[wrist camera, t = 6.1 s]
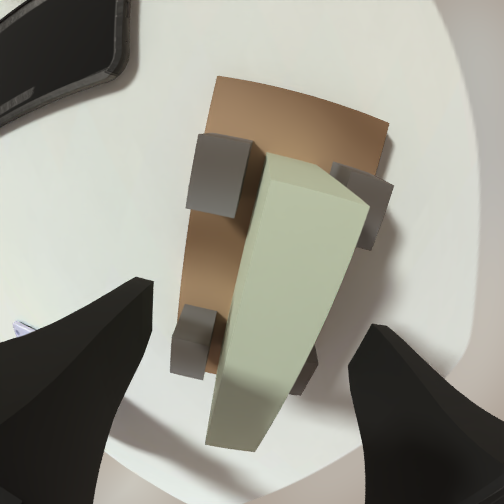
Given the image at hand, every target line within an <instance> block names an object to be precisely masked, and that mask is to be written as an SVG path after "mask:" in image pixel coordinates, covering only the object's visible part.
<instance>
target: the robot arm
mask: <svg viewBox="0 0 504 504" xmlns="http://www.w3.org/2000/svg"><path fill="white" fill-rule="evenodd" d="M153 285H154V281H151V280H147V279H143V278H139V277H135V278H133V279H131V280H129V281H127V282H126V283H124V284H122V285H121V286H119V287H117V288H116V289H114V290H112V291H111V292H109V293H107V294H106V295H104V296H102V297H101V298H99V299H97V300H95V301H94V302H92V303H90V304H89V305H87V306H85V307H83V308H81V309H79V310H77V311H75V312H74V313H72V314H70V315H68V316H66V317H64V318H62V319H60V320H58V321H56V322H54V323H52V324H50V325H48V326H45V327H43V328H40V329H38V330H34V329H32V328H30V327H28V326H26V325H24V324H22V323H20V322H18V321H15V322H14V323H13V328H14V331H15V334H16V336H17V337H16V338H13V339H10V340H7V341H4V342H1V343H0V504H93V499H94V494H95V488H96V483H97V478H98V473H99V468H100V464H101V460H102V456H103V453H104V449H105V445H106V442H107V438H108V435H109V432H110V429H111V425H112V422H113V419H114V417H115V414H116V412H117V409H118V407H119V405H120V403H121V401H122V399H123V397H124V395H125V392H126V390H127V388H128V386H129V384H130V382H131V380H132V378H133V376H134V374H135V372H136V370H137V368H138V366H139V364H140V362H141V360H142V358H143V355H144V353H145V350H146V347H147V344H148V341H149V338H150V335H151V333H152V312H153ZM348 372H349V383H350V391H351V396H352V400H353V404H354V409H355V413H356V417H357V421H358V426H359V430H360V435H361V439H362V444H363V450H364V460H365V476H366V477H365V482H366V484H365V487H366V489H365V490H366V491H365V494H366V495H365V504H504V421H502V420H500V419H498V418H496V417H495V416H493V415H491V414H490V413H488V412H486V411H485V410H484V409H482V408H480V407H479V406H477V405H476V404H475V403H473V402H471V401H470V400H469V399H468V398H467V397H465V396H464V395H463V394H461V393H460V392H459V391H457V390H456V389H455V388H454V387H453V386H451V385H450V384H449V383H448V382H447V381H446V380H445V379H444V378H443V377H441V376H440V375H439V374H438V373H437V372H436V371H435V370H434V369H433V368H432V367H431V366H430V365H429V364H428V363H426V362H425V361H424V360H423V359H422V358H421V357H420V356H419V355H418V354H417V353H416V352H415V351H414V350H413V349H412V348H411V347H410V346H409V345H408V344H407V343H406V342H405V341H404V340H403V339H401V338H400V337H399V336H398V335H397V334H396V333H395V332H394V331H392V330H391V329H390V328H389V327H387V326H384V325H377V324H371V326H370V328H369V330H368V332H367V334H366V335H365V337H364V339H363V341H362V342H361V344H360V346H359V348H358V349H357V351H356V353H355V355H354V356H353V358H352V360H351V361H350V363H349V365H348Z"/></svg>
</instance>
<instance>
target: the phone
mask: <svg viewBox="0 0 504 504" xmlns="http://www.w3.org/2000/svg"><path fill="white" fill-rule="evenodd" d="M126 3H127V7H126ZM130 3H131V0H26V1H25V2H24V3H22V4H21V5H19V6H18V7H17V8H15V9H14V10H12V11H11V12H10V13H8V14H7V15H6V16H5V17H3V18H2V19H1V20H0V127H2V126H4V125H5V124H7V123H9V122H11V121H13V120H15V119H17V118H19V117H21V116H23V115H25V114H27V113H29V112H31V111H33V110H35V109H37V108H40V107H42V106H44V105H46V104H49V103H51V102H53V101H56V100H58V99H61V98H63V97H66V96H68V95H71V94H74V93H76V92H79V91H82V90H85V89H88V88H91V87H94V86H97V85H100V84H103V83H106V82H109V81H111V80H113V79H115V78H116V77H117V76H118V75H120V74H121V72H122V71H123V70H124V68H125V67H126V64H127V62H128V58H129V24H130ZM126 40H127V42H126Z"/></svg>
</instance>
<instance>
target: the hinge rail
mask: <svg viewBox="0 0 504 504" xmlns="http://www.w3.org/2000/svg"><path fill="white" fill-rule="evenodd" d="M388 126H389V123H388V122H385V121H383V120H380V119H378V118H375V117H373V116H370V115H367V114H365V113H362V112H359V111H357V110H354V109H351V108H348V107H345V106H342V105H339V104H336V103H333V102H330V101H327V100H324V99H320V98H317V97H313V96H310V95H306V94H303V93H299V92H295V91H291V90H287V89H283V88H279V87H275V86H270V85H266V84H261V83H256V82H251V81H246V80H240V79H235V78H229V77H222V76H217V79H216V84H215V88H214V92H213V96H212V101H211V105H210V110H209V114H208V119H207V124H206V128H205V133H204V134H198V139H197V144H196V149H195V155H194V160H193V166H192V171H191V177H190V183H189V189H188V196H187V202H186V208H187V209H191V212H190V218H189V225H188V232H187V239H186V247H185V254H184V262H183V270H182V279H181V288H180V298H179V308H178V319H177V325H176V328H175V330H174V333H173V335H172V343H171V361H170V373H174V374H178V375H182V376H186V377H191V378H195V379H200V380H203V378H204V373H205V372H208V373H213V374H217V369H218V363H219V358H220V352H221V346H222V342H223V337H224V333H225V328H226V324H227V320H228V315H229V311H230V306H231V302H232V298H233V293H234V289H235V284H236V280H237V276H238V271H239V267H240V263H241V258H242V254H243V250H244V245H245V241H246V237H247V233H248V228H249V224H250V220H251V215H252V211H253V207H254V203H255V198H256V194H257V190H258V186H259V182H260V177H261V173H262V169H263V165H264V161H265V156H266V152H268V153H273V154H277V155H281V156H285V157H289V158H293V159H297V160H301V161H304V162H308V163H312V164H315V165H317V166H319V167H320V168H321V169H323V170H324V171H326V172H327V173H328V174H330V175H331V176H332V177H334V178H335V179H336V180H337V181H339V182H340V183H341V184H343V185H344V186H345V187H346V188H348V189H349V190H350V191H352V192H353V193H354V194H355V195H357V196H358V197H359V198H360V199H362V200H363V201H364V202H365V203H366V204H368V205H369V206H370V208H369V211H368V214H367V217H366V219H365V222H364V225H363V228H362V231H361V233H360V236H359V239H358V242H357V244H356V247H358V248H362V249H366V250H370V251H371V249H372V247H373V244H374V242H375V239H376V236H377V234H378V231H379V228H380V226H381V223H382V220H383V217H384V214H385V212H386V209H387V206H388V203H389V200H390V197H391V194H392V191H393V188H394V185H392V184H390V183H388V182H386V181H384V180H382V179H380V178H378V177H376V176H375V174H376V170H377V167H378V163H379V160H380V156H381V153H382V149H383V146H384V142H385V138H386V134H387V130H388ZM317 366H318V360H317V354H316V349H315V344H314V345H313V347H312V349H311V351H310V354H309V356H308V358H307V360H306V362H305V364H304V366H303V368H302V370H301V371H300V373H299V375H298V377H297V379H296V381H295V383H294V385H293V387H292V389H291V391H290V392H289V394H291V395H301V394H302V392H303V391H304V389H305V387H306V385H307V384H308V382H309V380H310V378H311V377H312V375H313V373H314V371H315V369H316V368H317Z"/></svg>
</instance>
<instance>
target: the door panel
mask: <svg viewBox="0 0 504 504" xmlns="http://www.w3.org/2000/svg"><path fill="white" fill-rule="evenodd" d="M369 208H370V206H369V205H368V204H366V203H365V202H364V201H363V200H362V199H360V198H359V197H358V196H357V195H355V194H354V193H353V192H352V191H350V190H349V189H348V188H346V187H345V186H344V185H343V184H341V183H340V182H339V181H337V180H336V179H335V178H334V177H332V176H331V175H330V174H328V173H327V172H326V171H324V170H323V169H321V168H320V167H319V166H317V165H315V164H312V163H308V162H304V161H301V160H297V159H293V158H289V157H285V156H281V155H277V154H273V153H268V152H266V156H265V161H264V165H263V169H262V173H261V177H260V182H259V186H258V190H257V194H256V198H255V203H254V207H253V211H252V215H251V220H250V224H249V228H248V233H247V237H246V241H245V245H244V250H243V254H242V258H241V263H240V267H239V271H238V276H237V280H236V284H235V289H234V293H233V298H232V302H231V306H230V311H229V315H228V320H227V324H226V328H225V333H224V337H223V342H222V346H221V352H220V358H219V363H218V369H217V375H216V381H215V387H214V393H213V399H212V405H211V411H210V417H209V423H208V429H207V435H206V441H205V445H210V446H216V447H222V448H228V449H235V450H242V451H251V452H255V451H256V449H257V448H258V446H259V444H260V443H261V441H262V440H263V438H264V436H265V435H266V433H267V431H268V430H269V428H270V426H271V424H272V423H273V421H274V419H275V418H276V416H277V414H278V412H279V411H280V409H281V407H282V405H283V403H284V402H285V400H286V398H287V396H288V394H289V392H290V391H291V389H292V387H293V385H294V383H295V381H296V379H297V377H298V375H299V373H300V371H301V370H302V368H303V366H304V364H305V362H306V360H307V358H308V356H309V354H310V351H311V349H312V347H313V345H314V343H315V341H316V339H317V337H318V335H319V333H320V330H321V328H322V326H323V324H324V322H325V320H326V317H327V315H328V313H329V311H330V308H331V306H332V304H333V301H334V299H335V297H336V294H337V292H338V290H339V287H340V285H341V283H342V280H343V278H344V275H345V273H346V270H347V268H348V265H349V263H350V260H351V258H352V255H353V252H354V250H355V247H356V244H357V242H358V239H359V236H360V233H361V231H362V228H363V225H364V222H365V219H366V217H367V214H368V211H369Z"/></svg>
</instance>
